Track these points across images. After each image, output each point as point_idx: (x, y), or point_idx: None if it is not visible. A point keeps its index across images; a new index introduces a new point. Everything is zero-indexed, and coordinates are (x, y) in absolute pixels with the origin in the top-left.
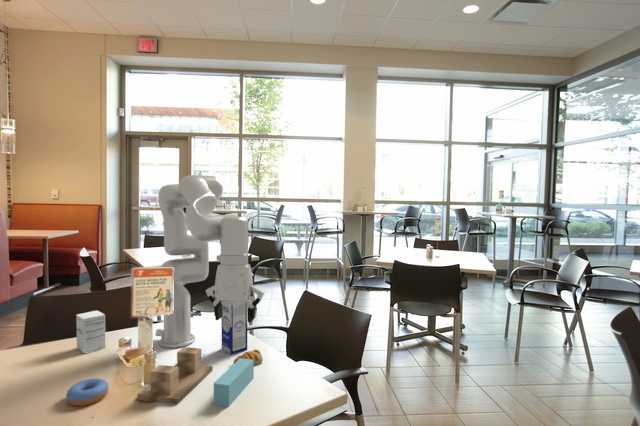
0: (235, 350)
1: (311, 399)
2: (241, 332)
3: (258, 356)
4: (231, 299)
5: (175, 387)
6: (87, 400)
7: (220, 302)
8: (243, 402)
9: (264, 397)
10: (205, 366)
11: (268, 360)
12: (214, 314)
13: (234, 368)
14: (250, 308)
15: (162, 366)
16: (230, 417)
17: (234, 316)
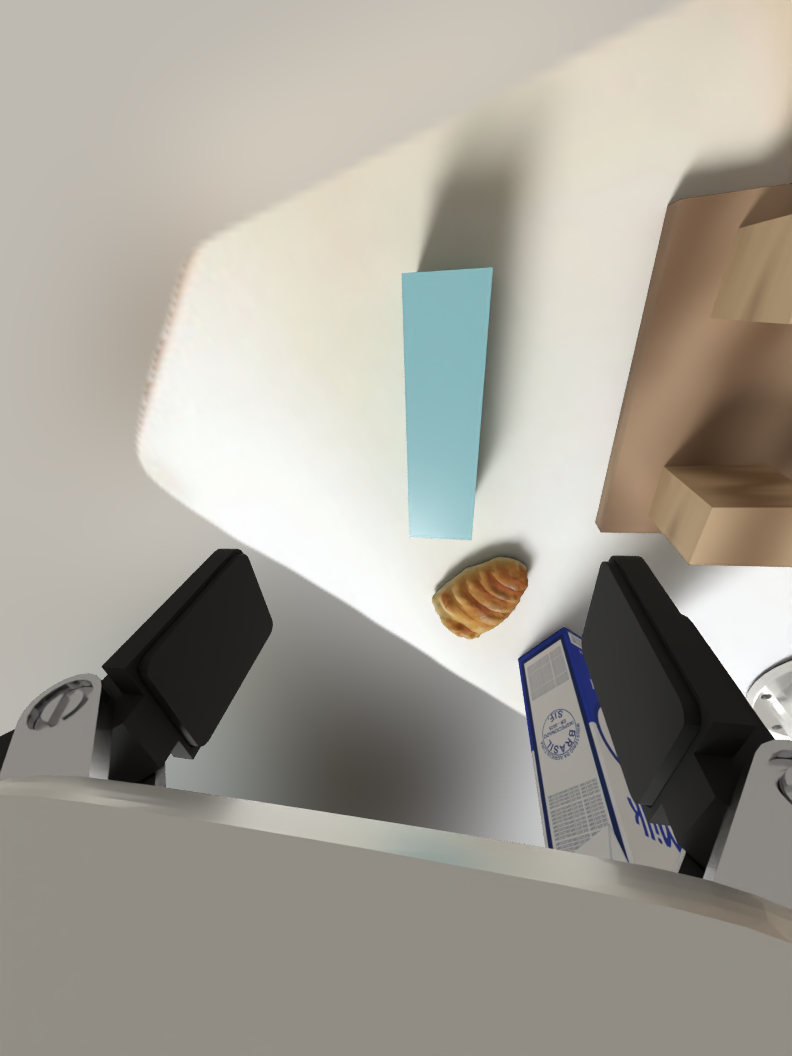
0: (552, 644)
1: (183, 418)
2: (545, 709)
3: (442, 604)
4: (252, 894)
5: (729, 283)
6: None
7: (682, 841)
8: (375, 330)
9: (321, 388)
10: (631, 524)
11: (421, 608)
12: (693, 624)
13: (454, 449)
14: (119, 679)
15: None
16: (369, 191)
17: (589, 777)
